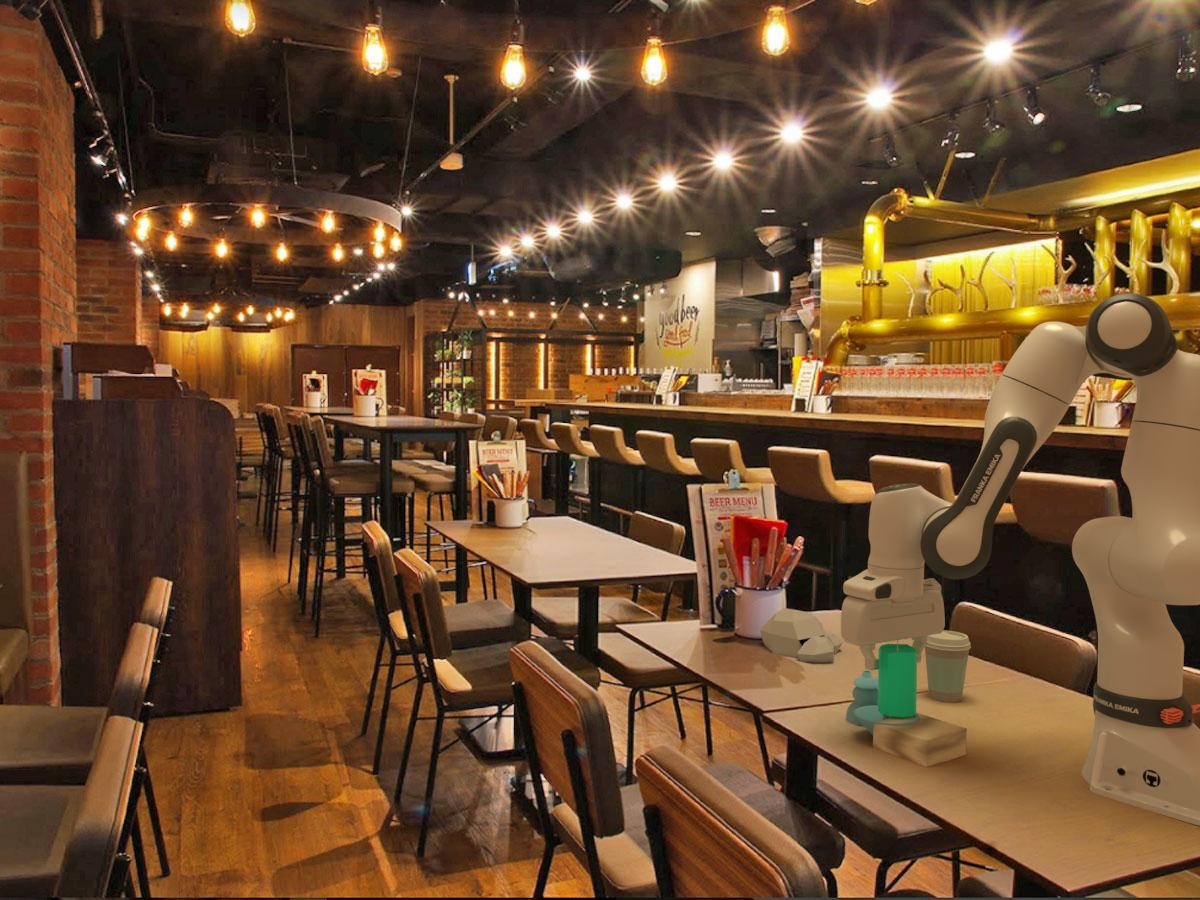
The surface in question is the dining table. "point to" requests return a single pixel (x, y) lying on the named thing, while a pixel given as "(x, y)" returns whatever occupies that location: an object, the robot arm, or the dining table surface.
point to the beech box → (921, 739)
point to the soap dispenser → (868, 704)
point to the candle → (897, 680)
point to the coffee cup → (946, 665)
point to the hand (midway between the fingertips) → (893, 665)
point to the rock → (800, 637)
